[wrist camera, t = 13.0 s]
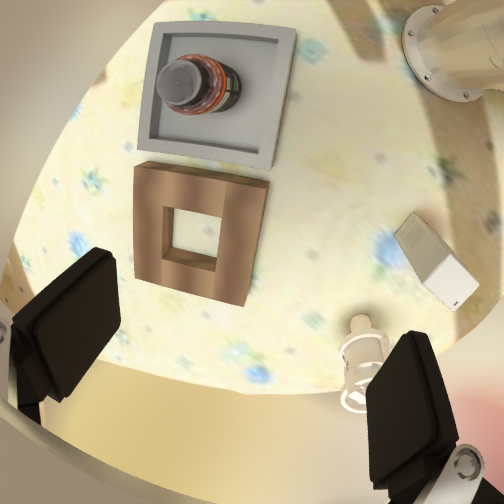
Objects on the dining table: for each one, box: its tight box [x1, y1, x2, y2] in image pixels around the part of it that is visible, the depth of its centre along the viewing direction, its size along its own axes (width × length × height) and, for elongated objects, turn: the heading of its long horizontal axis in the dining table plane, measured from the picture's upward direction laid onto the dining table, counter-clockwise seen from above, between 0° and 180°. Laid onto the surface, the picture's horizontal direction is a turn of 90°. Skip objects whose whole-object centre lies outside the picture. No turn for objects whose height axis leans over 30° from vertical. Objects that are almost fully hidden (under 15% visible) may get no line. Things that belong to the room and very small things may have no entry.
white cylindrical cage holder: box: [339, 314, 391, 413], centre depth 35 cm, size 7×7×15 cm
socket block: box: [133, 161, 269, 307], centre depth 38 cm, size 16×16×4 cm
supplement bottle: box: [156, 54, 241, 115], centre depth 25 cm, size 6×6×11 cm
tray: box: [137, 21, 297, 171], centre depth 30 cm, size 16×16×3 cm
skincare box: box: [394, 212, 479, 312], centre depth 29 cm, size 6×4×12 cm
